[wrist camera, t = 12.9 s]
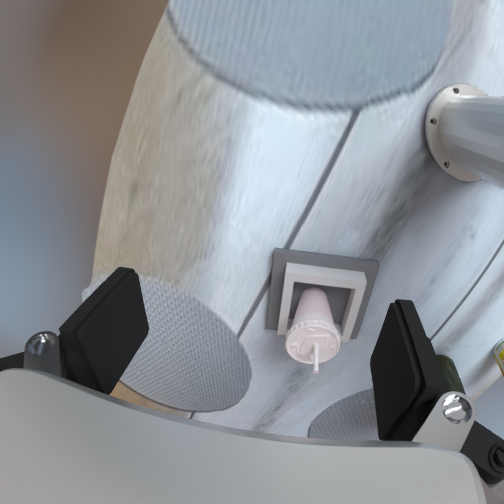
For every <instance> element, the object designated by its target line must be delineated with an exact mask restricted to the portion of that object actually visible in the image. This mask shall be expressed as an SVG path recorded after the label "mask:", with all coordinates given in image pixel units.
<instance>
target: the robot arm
mask: <svg viewBox="0 0 504 504" xmlns="http://www.w3.org/2000/svg"><path fill="white" fill-rule="evenodd" d="M453 89H454V91H455V92H454V91H453ZM431 119H432V121H433V122H432V123H431ZM425 134H426V140H427V144H428V147H429V150H430V152H431V154H432V156H433V158H434V160H435V161H436V162H437V164H438V165H439V166H440V167H441V168H442V169H443V170H444V171H445V172H446V173H448V174H449V175H451V176H452V177H454V178H456V179H459V180H462V181H470V182H473V181H478V180H481V179H484V180H486V181H488V182H490V183H492V184H494V185H495V186H497V187H499V188H501V189H503V190H504V97H503V96H489V95H487V94H486V93H485V92H484V91H483V90H481V89H479V88H477V87H475V86H473V85H469V84H461V83H459V84H452V85H449V86H446V87H444V88H443V89H441V90H440V91H439V92H438V93H437V94H436V95H435V96H434V97H433V99H432V101H431V102H430V104H429V107H428V110H427V113H426V119H425ZM445 162H446V164H445V165H444V163H445ZM59 330H60V335H59V336H57V335H56V334H55V333H53V332H51V331H43V332H39V333H37V334H35V335H33V336H32V337H31V338H30V339H29V340H28V341H27V343H26V345H25V351H24V352H22V353H18V354H15V355H11V356H7V357H4V358H0V504H504V440H503V439H502V438H500V437H499V436H497V435H496V434H494V433H492V432H491V431H490V430H488V429H486V428H485V427H484V426H482V425H481V424H479V423H478V422H476V421H475V417H476V408H475V406H474V404H473V402H472V401H471V399H470V398H469V397H467V396H466V395H465V394H462V393H460V392H455V391H452V392H448V390H447V387H446V384H445V380H444V377H443V374H442V371H441V368H440V366H439V363H438V360H437V357H436V354H435V352H434V349H433V346H432V343H431V341H430V339H429V338H428V337H427V336H426V334H425V331H424V329H423V326H422V323H421V321H420V318H419V316H418V313H417V311H416V309H415V306H414V304H413V302H412V301H411V300H401V299H397V300H396V301H395V303H391V304H390V306H389V308H388V311H387V314H386V317H385V320H384V323H383V326H382V329H381V332H380V335H379V337H378V340H377V343H376V346H375V348H374V351H373V353H372V356H371V361H370V367H371V374H372V381H373V389H374V397H375V406H376V415H377V426H378V436H379V439H380V440H383V441H359V440H335V439H317V438H304V437H293V436H284V435H275V434H268V433H261V432H254V431H247V430H241V429H235V428H230V427H225V426H219V425H214V424H210V423H205V422H200V421H196V420H192V419H187V418H183V417H179V416H175V415H172V414H168V413H164V412H161V411H157V410H153V409H150V408H147V407H143V406H140V405H137V404H134V403H130V402H127V401H124V400H121V399H118V398H116V397H113V396H110V395H109V394H110V393H111V392H112V390H113V389H114V387H115V386H116V384H117V382H118V381H119V379H120V378H121V376H122V374H123V373H124V371H125V369H126V368H127V366H128V365H129V363H130V362H131V360H132V358H133V357H134V355H135V354H136V352H137V350H138V349H139V347H140V346H141V344H142V343H143V341H144V340H145V338H146V336H147V335H148V331H149V325H148V321H147V316H146V312H145V307H144V302H143V297H142V292H141V286H140V281H139V276H138V274H137V273H135V271H134V269H131V268H124V267H119V268H117V269H116V270H115V271H114V272H113V273H112V274H111V275H110V276H109V277H108V278H107V279H106V280H105V281H104V282H103V283H102V284H101V285H100V286H99V287H98V288H97V289H96V290H95V291H94V292H93V293H92V294H91V295H90V296H89V297H88V298H87V299H86V300H85V301H84V302H83V303H82V305H81V306H80V307H79V308H78V309H77V310H76V311H75V312H74V313H73V314H72V315H71V316H70V317H69V318H68V320H66V321H65V323H64V324H63V325H62V326H61V327H60V328H59Z"/></svg>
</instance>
